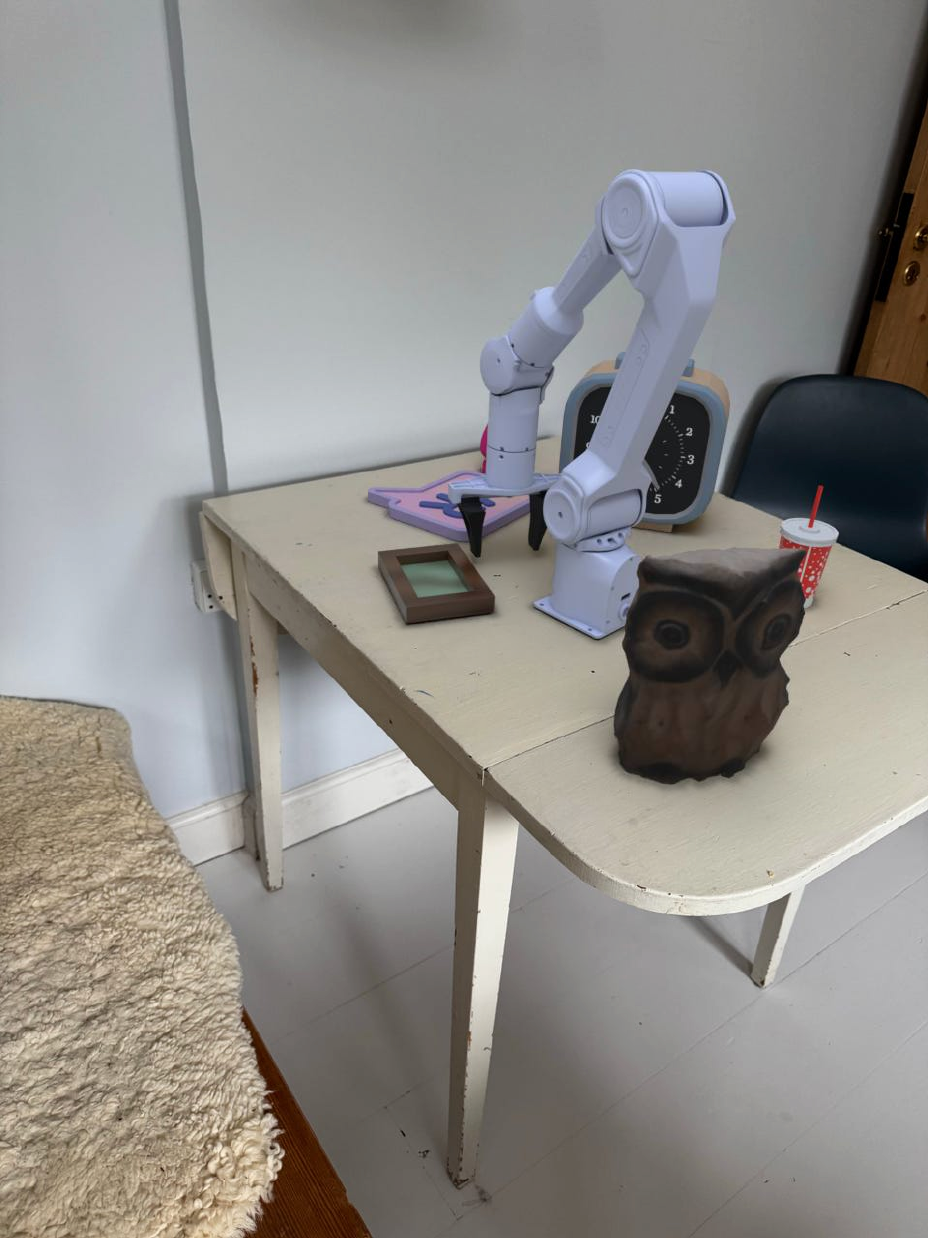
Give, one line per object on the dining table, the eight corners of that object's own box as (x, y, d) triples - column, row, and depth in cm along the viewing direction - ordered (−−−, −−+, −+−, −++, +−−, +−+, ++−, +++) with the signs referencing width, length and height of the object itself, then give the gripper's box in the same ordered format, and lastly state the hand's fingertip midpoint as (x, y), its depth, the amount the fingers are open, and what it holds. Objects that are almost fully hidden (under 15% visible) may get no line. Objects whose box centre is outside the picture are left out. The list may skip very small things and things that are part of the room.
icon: (439, 460, 131) (548, 492, 120) (439, 469, 131) (547, 502, 121) (354, 494, 117) (468, 534, 107) (354, 504, 118) (467, 544, 108)
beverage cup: (816, 591, 100) (847, 480, 93) (821, 616, 95) (854, 500, 88) (763, 583, 101) (789, 473, 94) (764, 607, 96) (793, 492, 89)
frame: (494, 612, 93) (495, 596, 92) (406, 623, 90) (406, 607, 89) (457, 557, 104) (457, 542, 103) (377, 566, 101) (377, 551, 100)
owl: (779, 750, 74) (837, 543, 64) (715, 827, 65) (771, 603, 55) (651, 693, 81) (686, 498, 70) (578, 756, 72) (606, 545, 62)
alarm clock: (553, 517, 117) (567, 358, 106) (567, 493, 124) (582, 343, 113) (704, 540, 111) (736, 376, 100) (709, 514, 119) (739, 359, 108)
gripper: (556, 429, 102) (546, 531, 109) (441, 437, 98) (439, 542, 105) (580, 448, 96) (568, 555, 103) (459, 457, 92) (455, 567, 99)
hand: (504, 550), depth 104 cm, fingers open, 7 cm apart
